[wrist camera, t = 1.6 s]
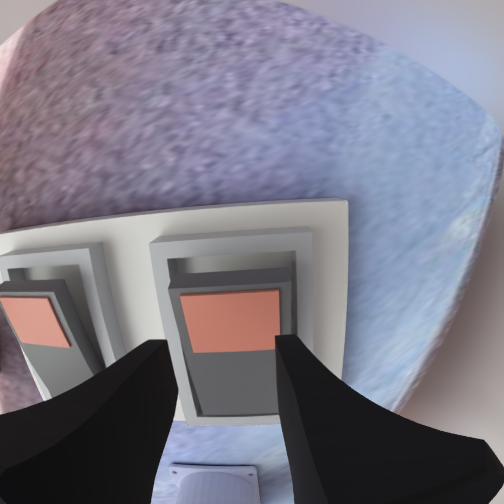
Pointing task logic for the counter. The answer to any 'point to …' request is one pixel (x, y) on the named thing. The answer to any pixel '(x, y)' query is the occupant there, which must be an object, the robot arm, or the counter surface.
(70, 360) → the rocker
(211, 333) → the rocker
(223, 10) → the counter surface
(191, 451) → the counter surface
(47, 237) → the breaker panel
